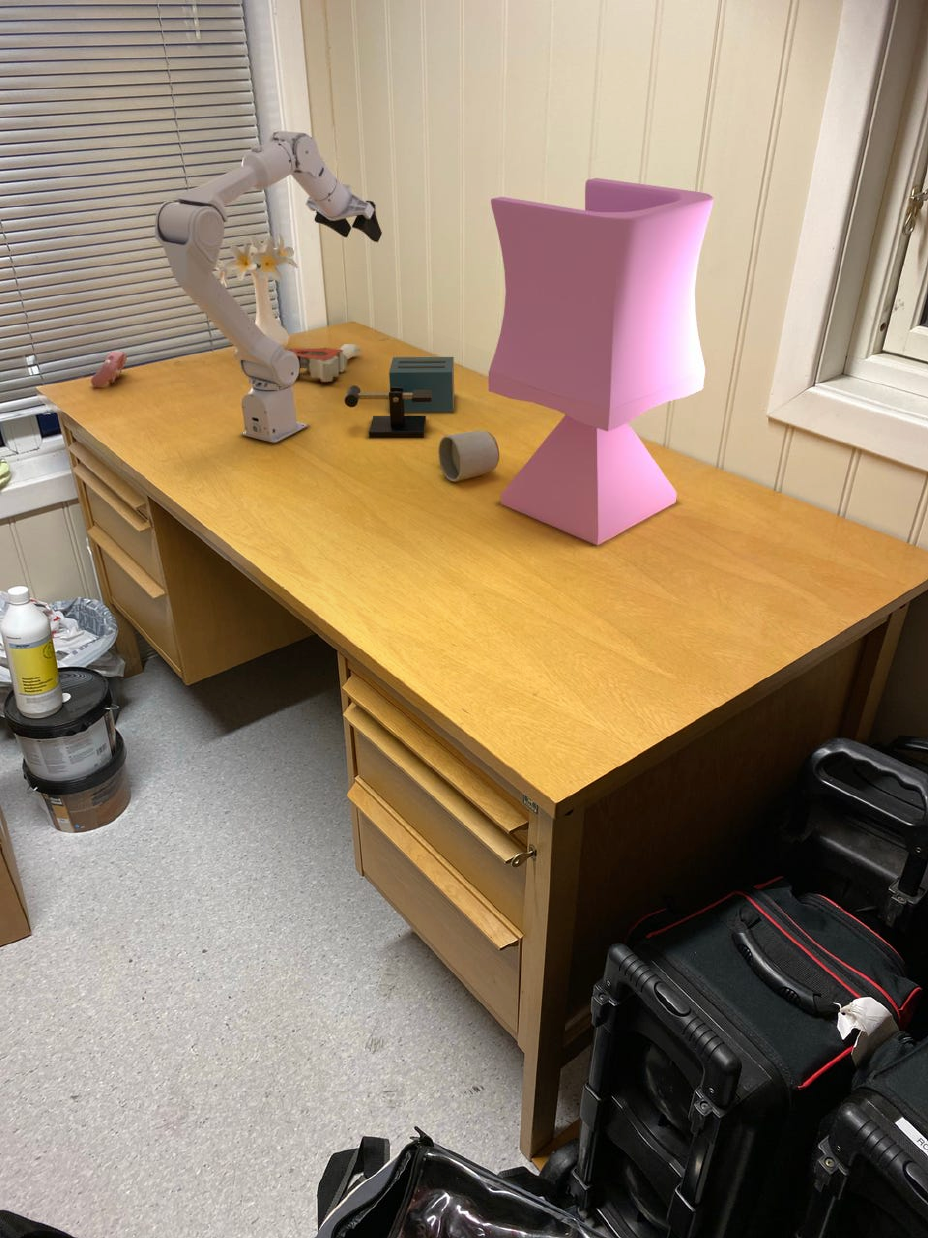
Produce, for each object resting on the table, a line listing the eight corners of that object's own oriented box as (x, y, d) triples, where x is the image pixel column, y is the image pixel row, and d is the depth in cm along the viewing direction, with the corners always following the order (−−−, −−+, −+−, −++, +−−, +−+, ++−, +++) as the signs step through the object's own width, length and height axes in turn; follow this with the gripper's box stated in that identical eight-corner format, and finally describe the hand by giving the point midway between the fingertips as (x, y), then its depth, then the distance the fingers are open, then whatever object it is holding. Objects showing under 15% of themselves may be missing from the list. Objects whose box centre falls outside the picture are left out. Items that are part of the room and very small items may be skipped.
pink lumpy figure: (110, 395, 198) (118, 365, 195) (88, 385, 197) (96, 355, 194) (125, 379, 207) (133, 350, 203) (104, 369, 206) (112, 341, 202)
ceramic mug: (502, 476, 159) (502, 433, 155) (461, 488, 155) (460, 444, 151) (468, 456, 166) (467, 414, 162) (428, 467, 163) (426, 424, 159)
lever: (344, 407, 172) (343, 394, 171) (348, 397, 176) (347, 385, 175) (431, 406, 172) (431, 394, 170) (432, 397, 176) (432, 384, 175)
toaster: (391, 412, 184) (388, 371, 180) (395, 396, 192) (392, 356, 187) (453, 412, 184) (452, 371, 179) (454, 395, 191) (453, 356, 187)
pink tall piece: (578, 461, 164) (595, 177, 139) (688, 502, 150) (728, 195, 125) (488, 503, 151) (488, 198, 126) (599, 552, 137) (623, 220, 113)
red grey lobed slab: (357, 360, 215) (270, 368, 207) (356, 336, 212) (268, 343, 204) (384, 380, 201) (292, 389, 193) (384, 355, 198) (291, 363, 191)
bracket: (369, 438, 174) (366, 397, 169) (373, 421, 180) (370, 382, 176) (423, 437, 173) (422, 397, 169) (426, 421, 180) (424, 381, 176)
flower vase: (217, 356, 214) (199, 239, 200) (289, 339, 223) (276, 227, 210) (244, 371, 205) (226, 249, 192) (318, 353, 215) (306, 236, 201)
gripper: (363, 170, 164) (401, 220, 176) (303, 163, 171) (343, 212, 183) (346, 206, 164) (385, 253, 175) (286, 197, 171) (328, 244, 182)
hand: (363, 234), depth 179 cm, fingers open, 7 cm apart
